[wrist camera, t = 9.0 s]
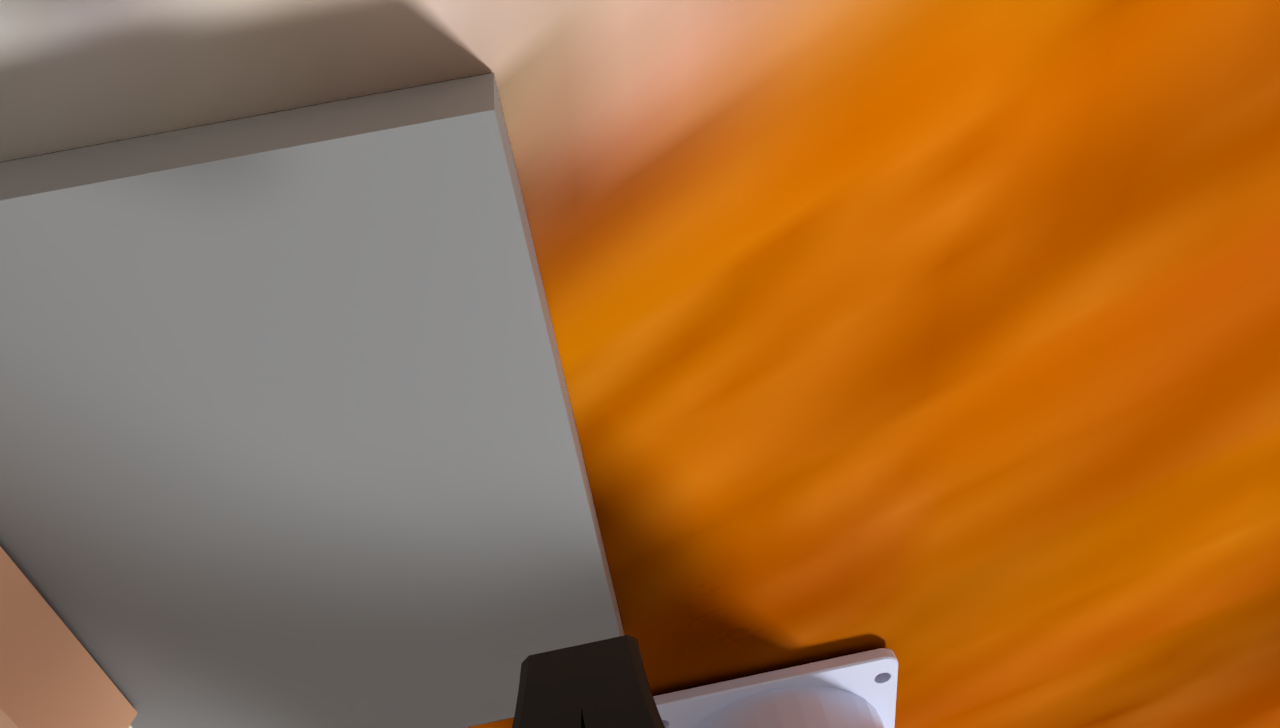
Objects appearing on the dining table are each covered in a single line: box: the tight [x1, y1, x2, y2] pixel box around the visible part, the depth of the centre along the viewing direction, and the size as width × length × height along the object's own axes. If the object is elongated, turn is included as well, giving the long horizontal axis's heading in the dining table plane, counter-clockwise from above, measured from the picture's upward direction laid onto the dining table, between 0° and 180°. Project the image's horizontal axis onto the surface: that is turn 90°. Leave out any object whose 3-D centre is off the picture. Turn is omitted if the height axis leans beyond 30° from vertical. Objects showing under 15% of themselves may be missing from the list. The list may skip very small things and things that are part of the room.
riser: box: [0, 73, 624, 728], centre depth 19 cm, size 16×12×2 cm
